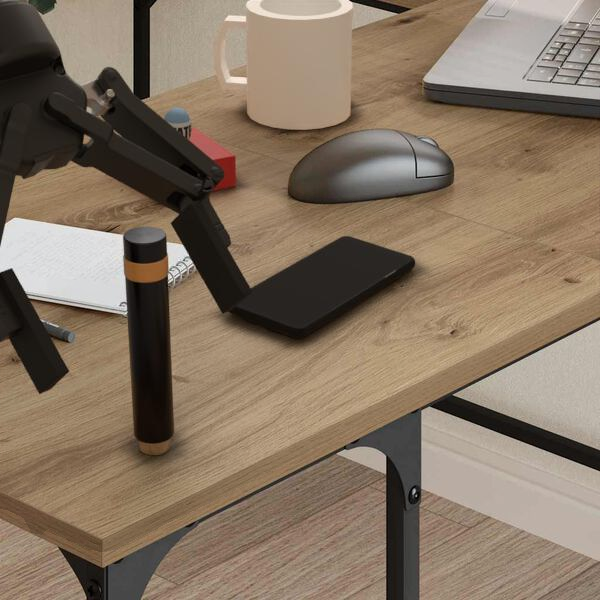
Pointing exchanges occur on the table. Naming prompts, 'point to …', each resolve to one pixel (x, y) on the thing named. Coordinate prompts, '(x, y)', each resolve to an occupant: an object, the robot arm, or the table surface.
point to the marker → (149, 337)
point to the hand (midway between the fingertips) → (151, 341)
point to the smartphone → (322, 286)
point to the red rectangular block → (204, 145)
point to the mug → (293, 62)
